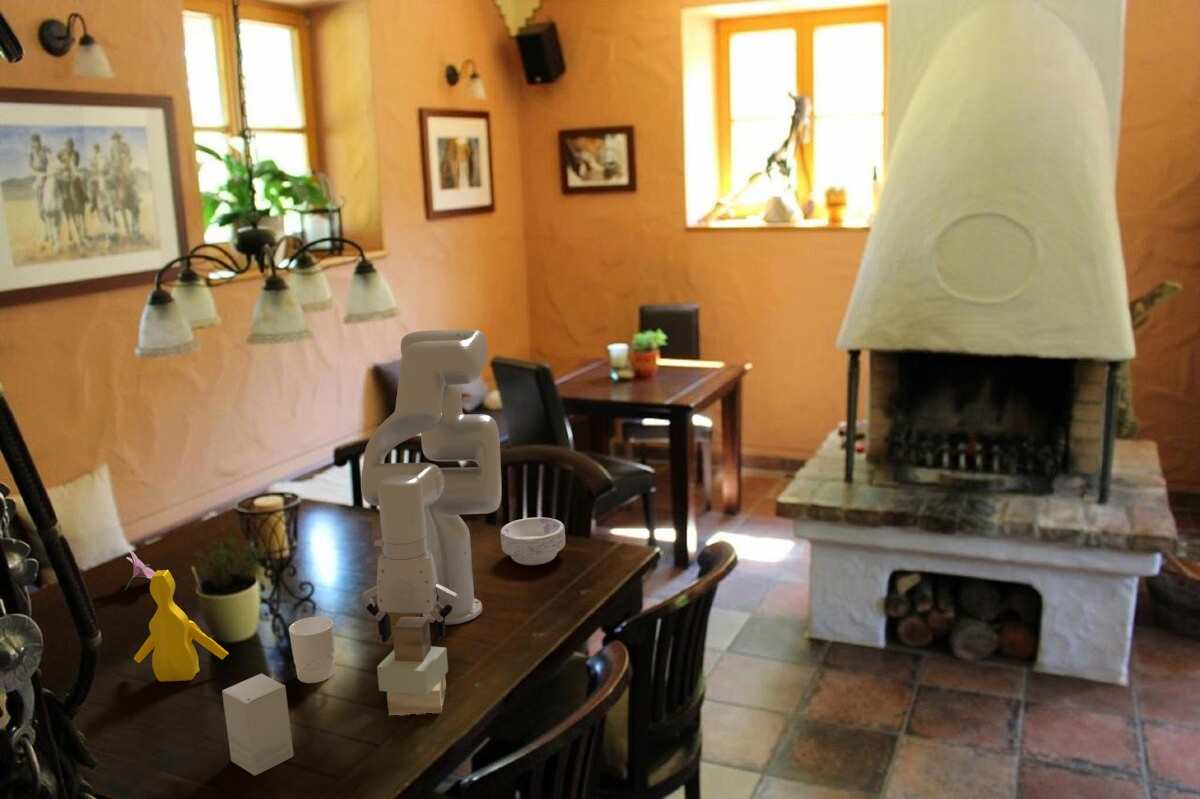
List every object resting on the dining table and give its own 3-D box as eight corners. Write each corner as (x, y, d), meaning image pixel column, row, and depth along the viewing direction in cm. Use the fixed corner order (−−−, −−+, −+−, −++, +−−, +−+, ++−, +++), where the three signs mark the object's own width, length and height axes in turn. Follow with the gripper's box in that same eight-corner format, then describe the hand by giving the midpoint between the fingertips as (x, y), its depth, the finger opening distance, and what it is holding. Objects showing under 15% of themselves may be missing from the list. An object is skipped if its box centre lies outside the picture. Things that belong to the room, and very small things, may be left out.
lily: (145, 605, 233) (162, 565, 234) (95, 586, 233) (113, 546, 234) (164, 600, 245) (181, 561, 246) (117, 582, 245) (134, 543, 246)
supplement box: (295, 756, 169) (287, 685, 166) (253, 777, 163) (244, 704, 160) (270, 741, 173) (262, 671, 171) (229, 760, 168) (220, 689, 165)
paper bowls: (489, 559, 250) (487, 527, 248) (538, 542, 259) (537, 512, 258) (529, 576, 239) (527, 543, 237) (579, 557, 248) (577, 526, 247)
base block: (396, 691, 189) (394, 668, 188) (446, 688, 189) (444, 665, 188) (389, 717, 180) (386, 693, 179) (441, 714, 180) (439, 690, 179)
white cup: (320, 661, 201) (315, 613, 199) (346, 672, 196) (341, 623, 194) (285, 677, 195) (280, 627, 193) (311, 689, 190) (305, 638, 188)
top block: (402, 666, 189) (400, 643, 188) (448, 670, 186) (446, 647, 185) (379, 690, 180) (377, 666, 179) (427, 695, 178) (425, 671, 177)
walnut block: (403, 647, 186) (401, 616, 185) (431, 648, 185) (428, 617, 184) (395, 661, 181) (392, 629, 180) (423, 661, 180) (420, 629, 179)
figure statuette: (233, 665, 201) (220, 557, 196) (220, 685, 193) (206, 573, 188) (141, 669, 201) (125, 561, 196) (123, 689, 193) (106, 578, 188)
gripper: (348, 554, 176) (358, 648, 180) (448, 555, 174) (455, 650, 178) (363, 538, 184) (372, 629, 187) (459, 539, 181) (466, 630, 185)
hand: (412, 639), depth 183 cm, fingers open, 9 cm apart
